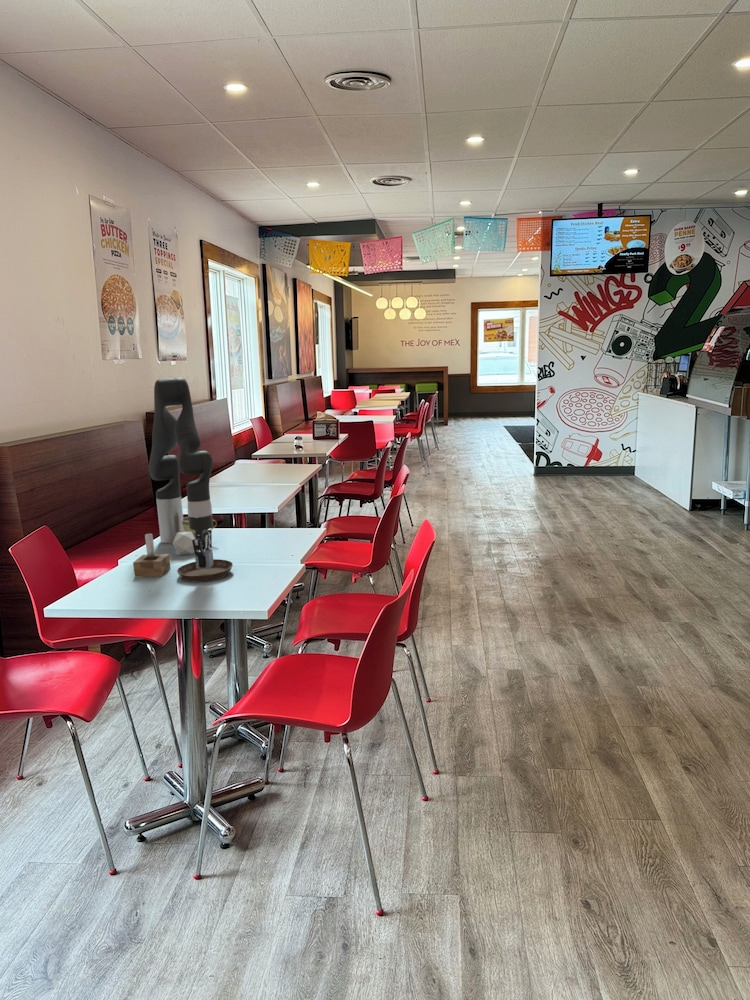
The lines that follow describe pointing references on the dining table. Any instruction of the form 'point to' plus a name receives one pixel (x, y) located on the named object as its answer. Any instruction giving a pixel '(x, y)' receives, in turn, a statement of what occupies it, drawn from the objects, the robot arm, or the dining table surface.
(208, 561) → the slate block
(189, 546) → the die
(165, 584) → the dining table surface
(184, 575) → the plant saucer
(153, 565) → the bore block
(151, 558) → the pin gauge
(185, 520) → the ceramic cup
